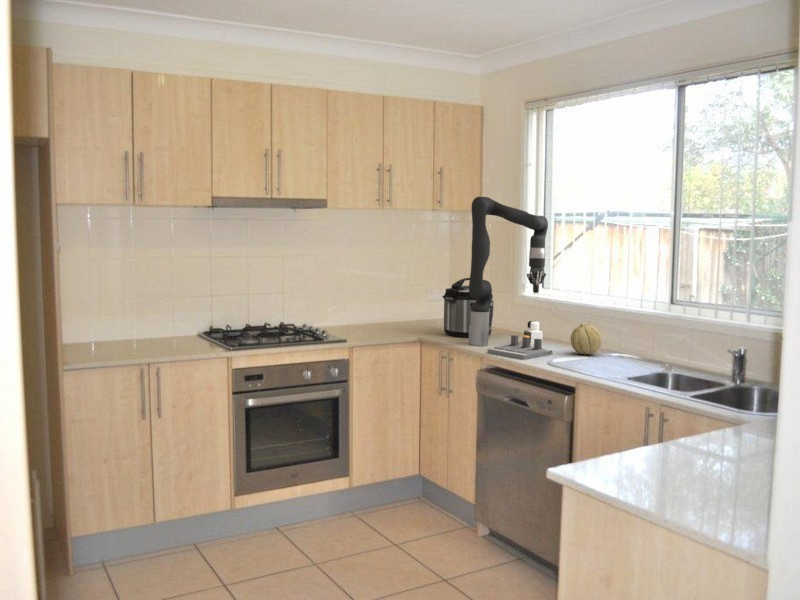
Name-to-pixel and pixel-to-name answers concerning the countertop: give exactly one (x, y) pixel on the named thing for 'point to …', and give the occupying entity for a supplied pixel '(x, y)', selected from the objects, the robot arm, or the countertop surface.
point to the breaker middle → (525, 341)
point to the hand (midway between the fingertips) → (535, 292)
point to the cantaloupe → (586, 339)
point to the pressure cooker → (460, 310)
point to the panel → (518, 352)
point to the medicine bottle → (533, 331)
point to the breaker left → (514, 340)
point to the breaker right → (537, 344)
